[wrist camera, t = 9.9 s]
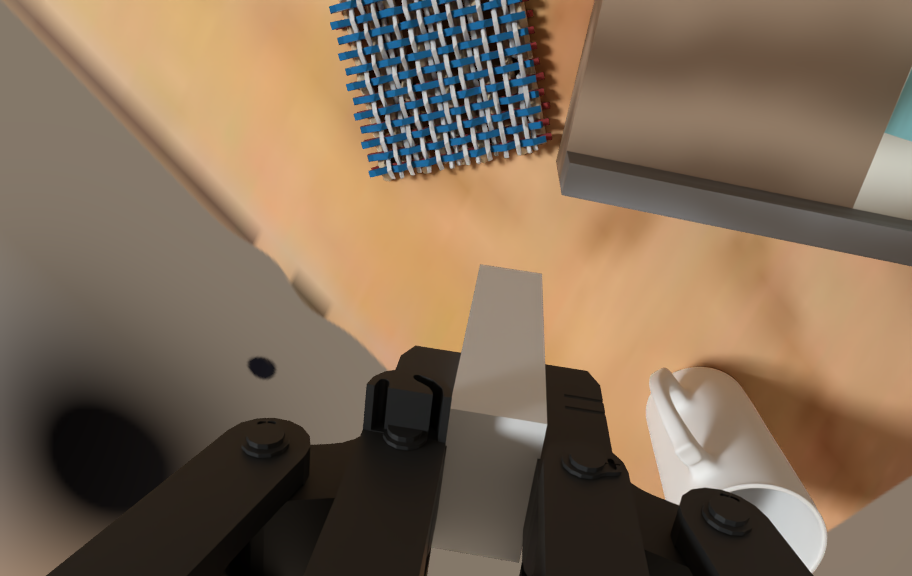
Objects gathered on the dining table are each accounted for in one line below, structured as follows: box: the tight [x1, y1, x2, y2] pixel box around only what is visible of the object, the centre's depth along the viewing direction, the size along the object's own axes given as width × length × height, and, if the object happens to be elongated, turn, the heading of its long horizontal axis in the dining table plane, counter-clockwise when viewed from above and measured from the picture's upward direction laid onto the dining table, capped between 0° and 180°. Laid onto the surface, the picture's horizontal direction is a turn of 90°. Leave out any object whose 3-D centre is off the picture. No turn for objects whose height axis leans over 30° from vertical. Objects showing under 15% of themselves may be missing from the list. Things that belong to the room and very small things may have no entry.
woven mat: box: [329, 0, 552, 181], centre depth 37 cm, size 10×11×2 cm
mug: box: [646, 367, 827, 573], centre depth 37 cm, size 10×7×12 cm, turn 38°
